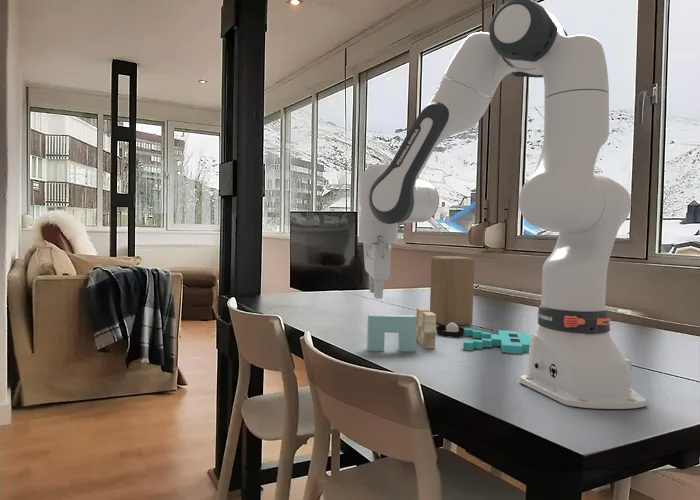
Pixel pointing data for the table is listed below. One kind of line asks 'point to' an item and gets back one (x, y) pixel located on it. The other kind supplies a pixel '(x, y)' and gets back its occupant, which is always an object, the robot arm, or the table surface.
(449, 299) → the wooden block
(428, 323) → the birch board
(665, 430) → the table surface
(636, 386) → the table surface
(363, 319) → the table surface
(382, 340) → the teal plate
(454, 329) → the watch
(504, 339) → the alien figure
